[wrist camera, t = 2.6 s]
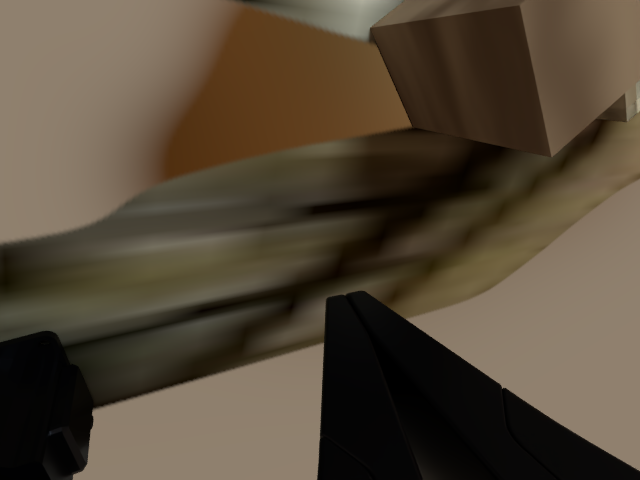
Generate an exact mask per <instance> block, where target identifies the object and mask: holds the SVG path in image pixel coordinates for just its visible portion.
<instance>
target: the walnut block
mask: <svg viewBox="0 0 640 480" xmlns="http://www.w3.org/2000/svg"><path fill="white" fill-rule="evenodd" d="M370 29H371V31H372V33H373V35H374V38H375V40H376V42H377V45H378V46H377V47H378V50H379V52H380V54H381V56H382V59H383V61H384V63H385V66H386V68H387V70H388V72H389V75H390V77H391V79H392V82H393V84H394V86H395V88H396V91H397V93H398V95H399V97H400V100H401V102H402V104H403V107H404V109H405V111H406V113H407V116H408V118H409V120H410V123H411V125H412V126H413V127H415V128H419V129H424V130H429V131H433V132H438V133H442V134H447V135H452V136H456V137H461V138H465V139H470V140H475V141H479V142H484V143H488V144H493V145H497V146H502V147H507V148H511V149H516V150H520V151H525V152H530V153H534V154H539V155H543V156H548V157H553V156H554V155H555V154H556V153H557V152H558V151H559V150H561V149H562V148H563V147H564V146H565V145H566V144H567V143H569V142H570V141H571V140H572V139H573V138H574V137H575V136H577V135H578V134H579V133H580V132H581V131H582V130H583V129H584V128H586V127H587V126H588V125H589V124H590V123H591V122H592V121H594V120H595V119H596V118H597V117H598V116H599V115H600V114H602V113H603V112H604V111H605V110H606V109H607V108H608V107H610V106H611V105H612V104H613V103H614V102H615V101H616V100H618V99H619V98H620V97H621V96H622V95H623V94H624V93H625V92H627V91H628V90H629V89H630V88H631V87H632V86H633V85H635V84H636V83H637V82H638V81H639V80H640V0H405V1H404V2H402V3H401V4H400V5H398V6H397V7H396V8H395V9H393V10H392V11H391V12H390V13H388V14H387V15H386V16H384V17H383V18H382V19H381V20H379V21H378V22H377V23H376V24H374V25H373V26H372V27H370Z"/></svg>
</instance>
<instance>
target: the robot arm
mask: <svg viewBox="0 0 640 480" xmlns="http://www.w3.org/2000/svg"><path fill="white" fill-rule="evenodd" d="M43 340H47V341H49V342H50V343H49V344H41V343H40V342H41V341H43ZM92 410H93V399H92V397H91V395H90V392H89V390H88V388H87V385H86V383H85V380H84V378H83V376H82V373H81V371H80V369H79V367H78V366H76V365H74V364H72V365H70V363H69V361H68V358H67V356H66V354H65V351H64V349H63V347H62V344H61V342H60V340H59V337H58V336H57V335H56V333H54V332H51V331H42V332H38V333H34V334H30V335H27V336H23V337H19V338H15V339H11V340H8V341H4V342H0V480H72V479H73V474H76V473H78V472H81V471H83V470H84V468H85V466H86V465H87V460H88V449H89V440H90V430H91V429H92V426H93V416H92ZM320 427H321V428H320V443H319V464H318V476H317V480H640V471H639V470H637V469H635V468H633V467H632V466H630V465H628V464H626V463H625V462H623V461H621V460H620V459H618V458H616V457H614V456H613V455H611V454H609V453H608V452H606V451H604V450H602V449H601V448H599V447H597V446H596V445H594V444H592V443H590V442H589V441H587V440H585V439H584V438H582V437H580V436H579V435H577V434H576V433H574V432H572V431H570V430H569V429H567V428H566V427H564V426H562V425H560V424H559V423H557V422H556V421H554V420H553V419H551V418H550V417H548V416H546V415H545V414H543V413H542V412H540V411H539V410H537V409H536V408H534V407H533V406H531V405H530V404H528V403H527V402H525V401H523V400H522V399H521V398H519V397H518V396H516V395H515V394H514V393H512V392H510V391H509V390H508V389H506V388H503V389H502V387H501V385H500V384H499V383H497V382H496V381H494V380H493V379H491V378H490V377H489V376H487V375H486V374H484V373H483V372H481V371H480V370H478V369H477V368H475V367H474V366H472V365H471V364H469V363H468V362H467V361H465V360H464V359H462V358H461V357H460V356H458V355H457V354H455V353H454V352H452V351H451V350H449V349H448V348H446V347H445V346H444V345H442V344H440V343H439V342H438V341H436V340H435V339H433V338H432V337H430V336H429V335H427V334H426V333H425V332H423V331H422V330H420V329H419V328H417V327H416V326H414V325H413V324H412V323H410V322H409V321H407V320H406V319H404V318H403V317H401V316H400V315H398V314H397V313H396V312H394V311H393V310H391V309H390V308H388V307H387V306H385V305H384V304H382V303H381V302H380V301H378V300H377V299H375V298H374V297H372V296H371V295H369V294H368V293H367V292H365V291H357V292H352V293H348V294H346V295H337V296H332V297H328V298H327V299H326V312H325V335H324V357H323V380H322V403H321V426H320Z"/></svg>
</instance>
